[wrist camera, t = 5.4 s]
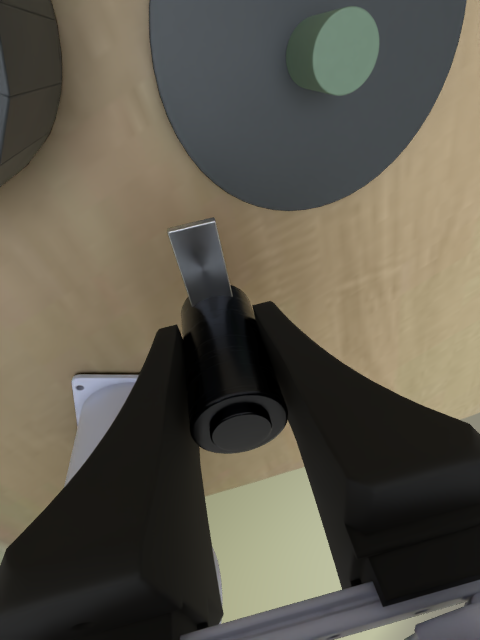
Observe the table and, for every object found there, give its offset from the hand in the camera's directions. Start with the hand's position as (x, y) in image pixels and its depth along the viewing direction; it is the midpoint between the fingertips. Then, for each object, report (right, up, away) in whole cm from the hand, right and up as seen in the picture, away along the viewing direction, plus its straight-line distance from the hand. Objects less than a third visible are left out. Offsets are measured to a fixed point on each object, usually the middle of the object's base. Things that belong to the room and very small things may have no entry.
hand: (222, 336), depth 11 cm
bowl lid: (+4, +12, +3) cm, 13 cm away
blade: (0, +1, +1) cm, 1 cm away
